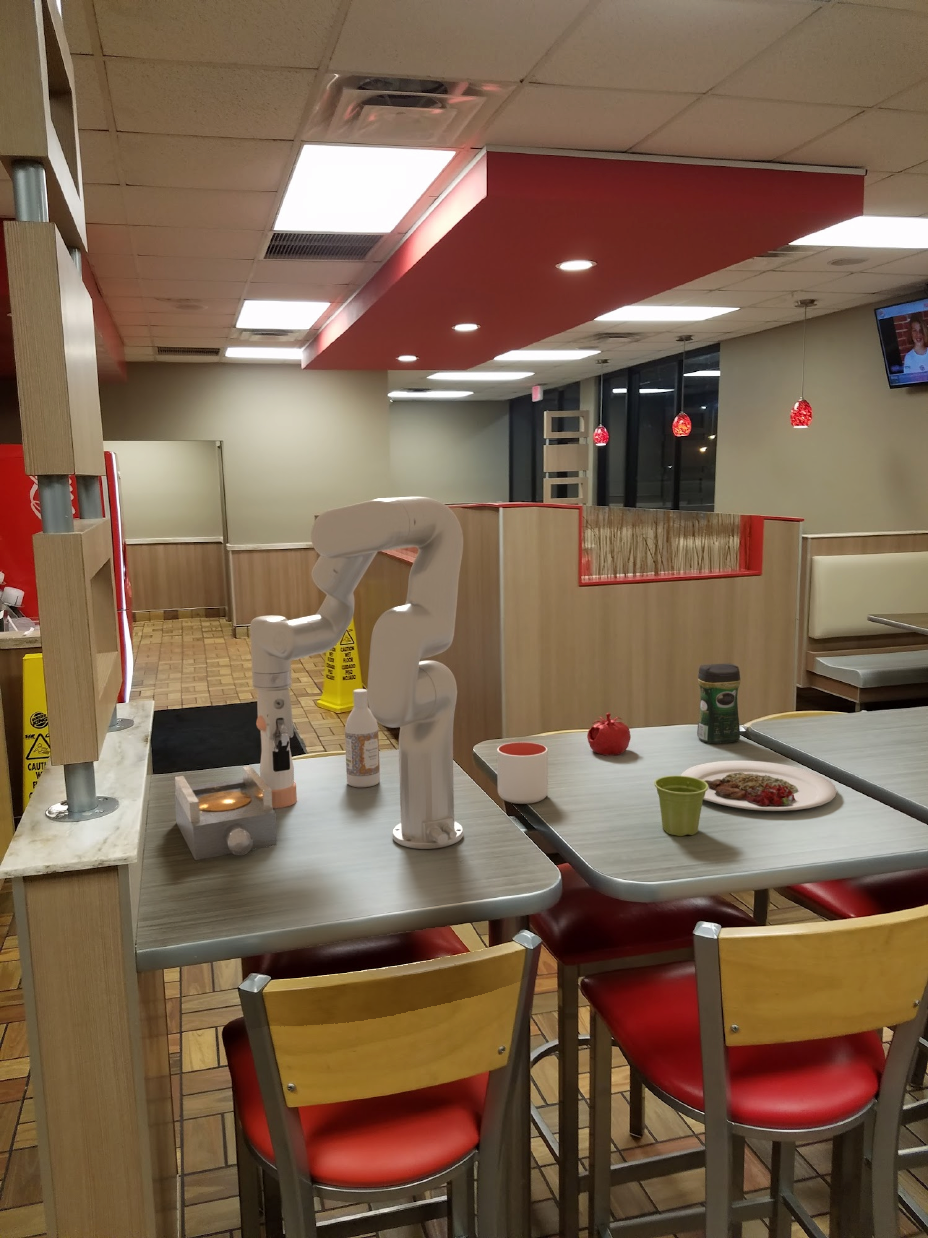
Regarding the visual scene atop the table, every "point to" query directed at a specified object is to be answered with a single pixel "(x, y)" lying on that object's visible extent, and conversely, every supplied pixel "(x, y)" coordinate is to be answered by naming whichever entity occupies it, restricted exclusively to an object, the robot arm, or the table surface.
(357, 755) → the bath foam
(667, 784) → the plant pot
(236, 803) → the portable stove
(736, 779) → the plated food
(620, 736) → the pomegranate
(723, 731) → the coffee jar
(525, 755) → the cup
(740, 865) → the table surface
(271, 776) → the pepper shaker
